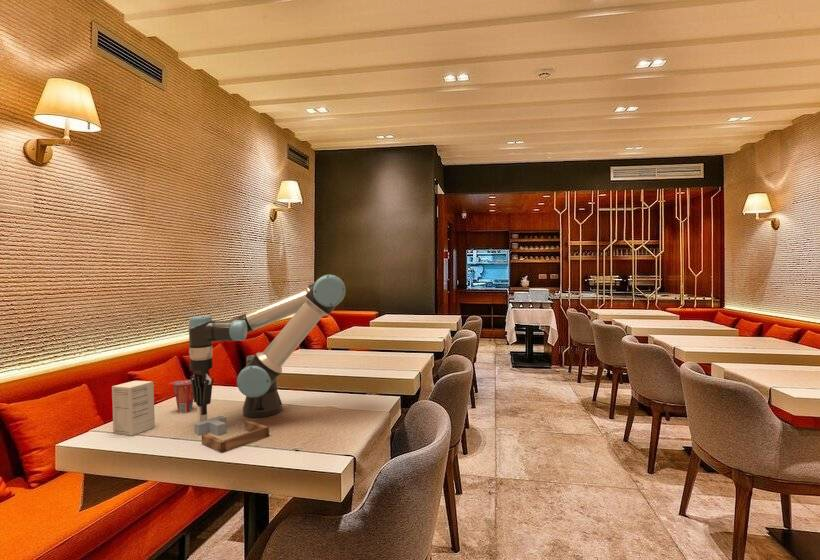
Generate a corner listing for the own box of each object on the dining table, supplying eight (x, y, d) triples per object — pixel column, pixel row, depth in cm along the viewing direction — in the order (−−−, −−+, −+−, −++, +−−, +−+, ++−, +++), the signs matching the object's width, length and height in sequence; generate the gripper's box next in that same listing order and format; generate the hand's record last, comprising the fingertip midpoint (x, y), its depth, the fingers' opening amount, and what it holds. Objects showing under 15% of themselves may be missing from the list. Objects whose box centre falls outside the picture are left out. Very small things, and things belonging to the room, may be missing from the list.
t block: (194, 433, 148) (194, 423, 148) (222, 425, 156) (221, 415, 156) (207, 438, 142) (207, 428, 142) (235, 430, 150) (235, 420, 150)
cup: (192, 406, 180) (192, 378, 180) (199, 410, 174) (199, 381, 174) (168, 411, 173) (167, 382, 173) (174, 416, 167) (173, 385, 167)
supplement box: (155, 427, 155) (154, 381, 155) (131, 436, 146) (130, 387, 146) (136, 424, 158) (135, 379, 158) (112, 433, 149) (111, 385, 149)
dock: (201, 444, 138) (201, 434, 138) (249, 428, 151) (249, 420, 151) (221, 452, 130) (221, 443, 130) (269, 435, 144) (269, 427, 144)
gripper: (182, 358, 155) (183, 422, 155) (199, 361, 147) (201, 429, 147) (202, 355, 161) (203, 416, 161) (220, 358, 153) (221, 423, 153)
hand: (202, 422), depth 154 cm, fingers closed
